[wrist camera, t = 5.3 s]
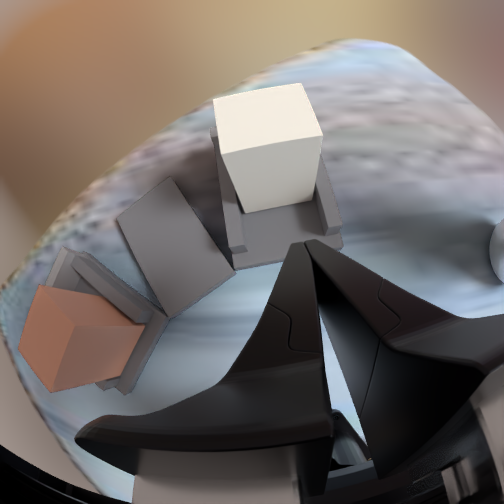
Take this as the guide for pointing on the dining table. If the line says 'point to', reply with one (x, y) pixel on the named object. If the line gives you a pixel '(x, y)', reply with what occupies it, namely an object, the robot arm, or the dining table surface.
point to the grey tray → (192, 254)
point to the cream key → (269, 145)
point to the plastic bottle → (497, 250)
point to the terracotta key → (76, 338)
